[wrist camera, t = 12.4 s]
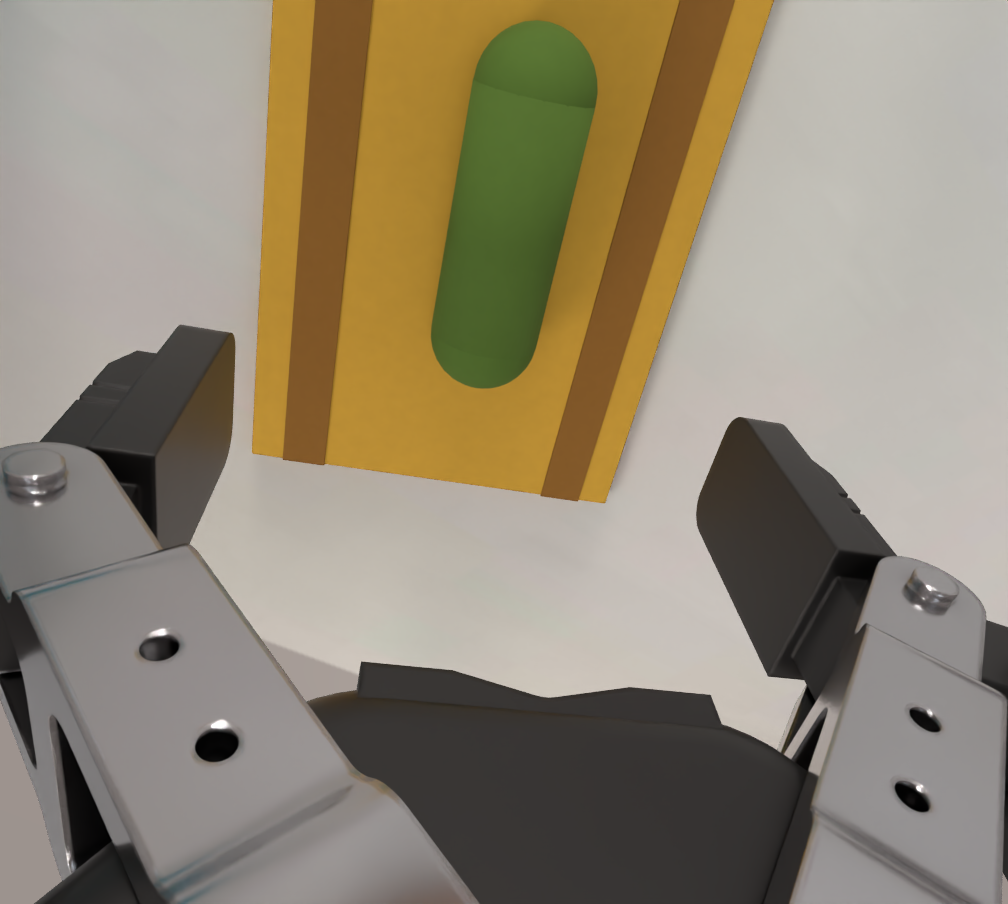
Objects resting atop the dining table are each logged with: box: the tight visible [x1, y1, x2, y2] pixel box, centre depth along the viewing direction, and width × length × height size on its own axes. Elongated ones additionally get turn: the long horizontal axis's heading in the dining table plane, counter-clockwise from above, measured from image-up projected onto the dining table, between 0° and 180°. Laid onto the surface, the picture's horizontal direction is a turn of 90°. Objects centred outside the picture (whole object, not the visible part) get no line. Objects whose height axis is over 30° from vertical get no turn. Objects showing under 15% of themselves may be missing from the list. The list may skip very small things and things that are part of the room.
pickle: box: [431, 20, 598, 389], centre depth 24 cm, size 4×11×4 cm, turn 168°
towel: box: [252, 0, 774, 503], centre depth 25 cm, size 14×22×1 cm, turn 168°
